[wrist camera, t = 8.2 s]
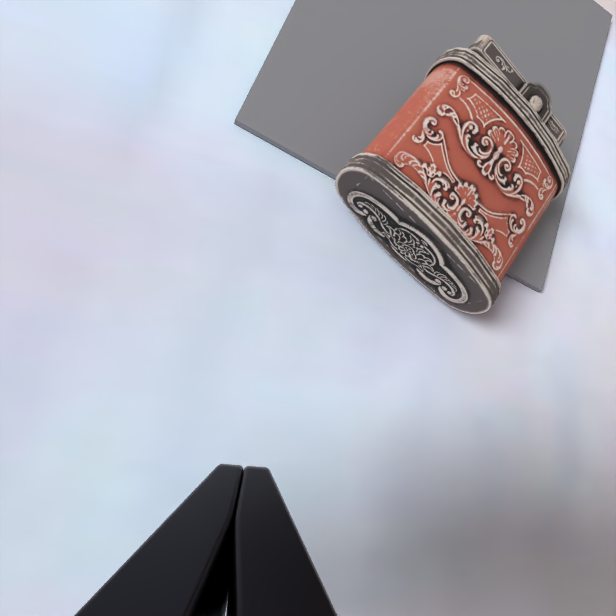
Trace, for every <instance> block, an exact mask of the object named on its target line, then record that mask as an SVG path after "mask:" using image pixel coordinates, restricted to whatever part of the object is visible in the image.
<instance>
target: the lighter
mask: <svg viewBox="0 0 616 616" xmlns="http://www.w3.org/2000/svg"><path fill="white" fill-rule="evenodd" d="M566 137H567V132H566V130H565V129H564V127H563V126H562V125H561V124H560V122H559V121H558V120H557V119H556V117H555V116H554V115H553V114H552V107H551V96H550V93H549V92H548V90H547V89H546V88H545V87H544V85H543V84H541V83H539V82H534V83H533V82H530V81H529V82H527V81H526V80H525V79H524V77H523V76H522V75H521V74H520V72H519V71H518V70H517V69H516V67H515V66H514V65H513V64H512V62H511V61H510V60H509V59H508V57H507V56H506V55H505V54H504V52H503V51H502V50H501V49H500V47H499V46H498V45H497V44H496V43H495V41H494V40H493V39H492V38H491V37H490V36H488V35H481V36H480V37H478V38H477V39H476V40H475V41H474V42H473V43H472V44H471V45H470V47H469V48H460V47H457V48H454V49H450V50H447V51H446V52H445V53H443V54H442V55H440V56H439V58H438V59H437V60H436V61H435V62H434V63H433V64H432V66H431V67H430V68H429V70H428V71H427V73H426V75H425V78H424V81H423V83H422V84H421V85H420V86H419V87H418V88H417V90H416V91H415V92H414V93H413V94H412V95H411V97H410V98H409V99H408V100H407V101H406V102H405V104H404V105H403V106H402V107H401V108H400V109H399V111H398V112H397V113H396V114H395V115H394V116H393V118H392V119H391V120H390V121H389V122H388V123H387V125H386V126H385V127H384V128H383V129H382V130H381V132H380V133H379V134H378V135H377V136H376V137H375V139H374V140H373V141H372V142H371V143H370V144H369V146H368V147H367V148H366V149H365V150H364V151H363V153H359V154H357V155H355V156H354V157H352V158H351V159H350V161H349V162H348V163H347V164H346V165H345V166H344V168H343V169H342V170H341V171H340V172H339V174H338V175H337V177H336V182H335V186H336V190H337V193H338V195H339V196H340V198H341V200H342V201H343V202H344V204H345V205H346V206H347V207H348V208H349V210H350V211H351V212H352V213H353V215H354V216H355V217H356V218H357V220H358V221H359V222H360V223H361V224H362V226H363V227H364V228H365V229H366V230H367V231H368V233H369V234H370V235H371V236H372V237H373V238H374V239H375V240H376V241H377V242H378V243H379V244H380V245H381V246H382V248H383V249H384V250H385V251H386V252H387V253H388V254H389V255H390V256H391V257H392V258H393V259H394V260H395V261H396V262H398V263H399V264H400V265H401V266H402V267H403V268H404V269H405V270H406V271H407V272H408V273H409V274H411V275H412V276H413V277H414V278H415V279H416V280H417V281H418V282H420V283H421V284H422V285H423V286H424V287H426V288H427V289H428V290H429V291H431V292H432V293H433V294H434V295H435V296H437V297H438V298H439V299H440V300H442V301H443V302H444V303H446V304H447V305H449V306H450V307H452V308H454V309H456V310H459V311H461V312H465V313H470V314H480V313H484V312H487V311H488V310H489V309H490V308H491V306H492V304H493V303H494V301H495V300H496V298H497V296H498V295H499V293H500V291H501V283H500V282H501V281H502V279H503V277H504V276H505V274H506V273H507V271H508V269H509V268H510V266H511V265H512V263H513V261H514V260H515V258H516V257H517V255H518V253H519V252H520V250H521V249H522V247H523V245H524V244H525V242H526V241H527V239H528V237H529V236H530V234H531V233H532V231H533V229H534V228H535V226H536V225H537V223H538V221H539V220H540V218H541V216H542V215H543V213H544V212H545V210H546V208H547V207H548V205H549V204H550V202H551V201H552V200H554V199H556V198H557V197H558V196H559V195H560V194H561V193H562V191H563V190H564V188H565V186H566V185H567V183H568V181H569V178H570V175H571V172H570V168H569V165H568V163H567V161H566V159H565V157H564V155H563V153H562V152H561V150H560V146H561V145H562V143H563V142H564V140H565V139H566Z"/></svg>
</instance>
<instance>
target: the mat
mask: <svg viewBox="0 0 616 616" xmlns="http://www.w3.org/2000/svg"><path fill="white" fill-rule="evenodd" d="M611 19H612V15H611V14H610V13H609V12H608V11H606V10H605V9H604V8H603V7H601V6H600V5H599V4H597V3H596V2H595V1H594V0H296V1H295V3H294V5H293V7H292V8H291V10H290V12H289V14H288V16H287V18H286V20H285V22H284V24H283V26H282V28H281V30H280V32H279V34H278V36H277V38H276V40H275V42H274V44H273V46H272V48H271V50H270V52H269V54H268V56H267V58H266V60H265V62H264V64H263V66H262V68H261V70H260V72H259V74H258V76H257V78H256V80H255V82H254V83H253V85H252V87H251V89H250V91H249V93H248V95H247V97H246V99H245V101H244V103H243V105H242V107H241V109H240V111H239V113H238V115H237V117H236V119H235V122H234V124H236V125H238V126H240V127H241V128H243V129H245V130H247V131H249V132H250V133H252V134H254V135H256V136H258V137H260V138H261V139H263V140H265V141H267V142H269V143H270V144H272V145H274V146H276V147H278V148H279V149H281V150H283V151H285V152H287V153H288V154H290V155H292V156H294V157H296V158H297V159H299V160H301V161H303V162H305V163H306V164H308V165H310V166H312V167H314V168H315V169H317V170H319V171H321V172H323V173H324V174H326V175H328V176H330V177H332V178H333V179H335V180H336V177H337V175H338V174H339V172H340V171H341V170H342V169H343V168H344V166H345V165H346V164H347V163H348V162H349V161H350V159H351V158H352V157H354V156H355V155H357V154H359V153H363V151H364V150H365V149H366V148H367V147H368V146H369V144H370V143H371V142H372V141H373V140H374V139H375V137H376V136H377V135H378V134H379V133H380V132H381V130H382V129H383V128H384V127H385V126H386V125H387V123H388V122H389V121H390V120H391V119H392V118H393V116H394V115H395V114H396V113H397V112H398V111H399V109H400V108H401V107H402V106H403V105H404V104H405V102H406V101H407V100H408V99H409V98H410V97H411V95H412V94H413V93H414V92H415V91H416V90H417V88H418V87H419V86H420V85H421V84H422V83H423V81H424V78H425V75H426V73H427V71H428V70H429V68H430V67H431V66H432V64H433V63H434V62H435V61H436V60H437V59H438V58H439V56H440V55H442V54H443V53H445V52H446V51H447V50H450V49H454V48H457V47H460V48H469V47H470V45H471V44H472V43H473V42H474V41H475V40H476V39H477V38H478V37H480V36H481V35H488V36H490V37H491V38H492V39H493V40H494V41H495V43H496V44H497V45H498V46H499V47H500V49H501V50H502V51H503V52H504V54H505V55H506V56H507V57H508V59H509V60H510V61H511V62H512V64H513V65H514V66H515V67H516V69H517V70H518V71H519V72H520V74H521V75H522V76H523V77H524V79H525V80H526V81H527V82H529V81H530V82H533V83H534V82H539V83H541V84H543V85H544V87H545V88H546V89H547V90H548V92H549V93H550V96H551V107H552V114H553V115H554V116H555V117H556V119H557V120H558V121H559V122H560V124H561V125H562V126H563V127H564V129H565V130H566V132H567V137H566V139H565V140H564V142H563V143H562V145H561V146H560V150H561V152H562V153H563V155H564V157H565V159H566V161H567V163H568V165H569V168H570V172H571V175H572V172H573V168H574V164H575V160H576V156H577V152H578V148H579V144H580V140H581V136H582V132H583V128H584V124H585V121H586V117H587V113H588V109H589V105H590V101H591V97H592V93H593V89H594V85H595V81H596V77H597V74H598V70H599V66H600V62H601V58H602V54H603V50H604V46H605V42H606V38H607V34H608V30H609V27H610V23H611ZM571 175H570V178H569V181H568V183H567V185H566V186H565V188H564V190H563V191H562V193H561V194H560V195H559V196H558V197H557V198H556V199H554V200H552V201H551V202H550V204H549V205H548V207H547V208H546V210H545V212H544V213H543V215H542V216H541V218H540V220H539V221H538V223H537V225H536V226H535V228H534V229H533V231H532V233H531V234H530V236H529V237H528V239H527V241H526V242H525V244H524V245H523V247H522V249H521V250H520V252H519V253H518V255H517V257H516V258H515V260H514V261H513V263H512V265H511V266H510V268H509V269H508V271H507V273H506V275H508V276H510V277H512V278H514V279H515V280H517V281H519V282H521V283H523V284H524V285H526V286H528V287H530V288H532V289H533V290H535V291H542V289H543V285H544V281H545V277H546V273H547V269H548V266H549V262H550V258H551V254H552V250H553V246H554V242H555V238H556V234H557V230H558V226H559V222H560V219H561V215H562V211H563V207H564V203H565V199H566V195H567V191H568V187H569V183H570V179H571Z"/></svg>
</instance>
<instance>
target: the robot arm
mask: <svg viewBox="0 0 616 616" xmlns="http://www.w3.org/2000/svg"><path fill="white" fill-rule="evenodd" d="M227 601H228V602H227ZM226 606H227V615H226V616H337V614H336V612H335V610H334V608H333V605H332V603H331V601H330V599H329V597H328V595H327V592H326V590H325V588H324V586H323V584H322V582H321V580H320V577H319V575H318V573H317V571H316V569H315V567H314V565H313V562H312V560H311V558H310V556H309V554H308V552H307V549H306V547H305V545H304V543H303V541H302V539H301V537H300V534H299V532H298V530H297V528H296V526H295V524H294V521H293V519H292V517H291V515H290V513H289V511H288V509H287V506H286V504H285V502H284V500H283V498H282V496H281V494H280V491H279V489H278V487H277V485H276V483H275V481H274V478H273V476H272V474H271V472H270V470H269V469H268V468H266V467H255V466H247V467H245V469H244V471H243V467H242V466H240V465H230V464H220V465H218V466H217V467H216V468H215V469H214V470H213V471H212V472H211V473H210V474H209V475H208V476H207V478H206V479H205V480H204V481H203V482H202V483H201V484H200V485H199V486H198V487H197V488H196V489H195V490H194V491H193V492H192V493H191V494H190V495H189V496H188V497H187V498H186V499H185V500H184V502H183V503H182V504H181V505H180V506H179V507H178V508H177V509H176V510H175V511H174V512H173V513H172V514H171V515H170V516H169V517H168V518H167V519H166V520H165V521H164V522H163V523H162V525H161V526H160V527H159V528H158V529H157V530H156V531H155V532H154V533H153V534H152V535H151V536H150V537H149V538H148V539H147V540H146V541H145V542H144V543H143V544H142V545H141V546H140V548H139V549H138V550H137V551H136V552H135V553H134V554H133V555H132V556H131V557H130V558H129V559H128V560H127V561H126V562H125V563H124V564H123V565H122V566H121V567H120V568H119V569H118V571H117V572H116V573H115V574H114V575H113V576H112V577H111V578H110V579H109V580H108V581H107V582H106V583H105V584H104V585H103V586H102V587H101V588H100V589H99V590H98V591H97V592H96V594H95V595H94V596H93V597H92V598H91V599H90V600H89V601H88V602H87V603H86V604H85V605H84V606H83V607H82V608H81V609H80V610H79V611H78V612H77V613H76V614H75V615H74V616H225V612H226Z"/></svg>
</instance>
